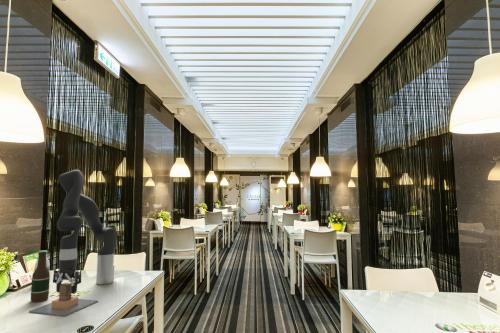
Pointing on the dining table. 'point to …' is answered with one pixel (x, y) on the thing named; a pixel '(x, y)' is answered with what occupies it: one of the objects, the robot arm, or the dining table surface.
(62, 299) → the walnut peg
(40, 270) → the beer bottle
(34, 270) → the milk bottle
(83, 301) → the socket holder
